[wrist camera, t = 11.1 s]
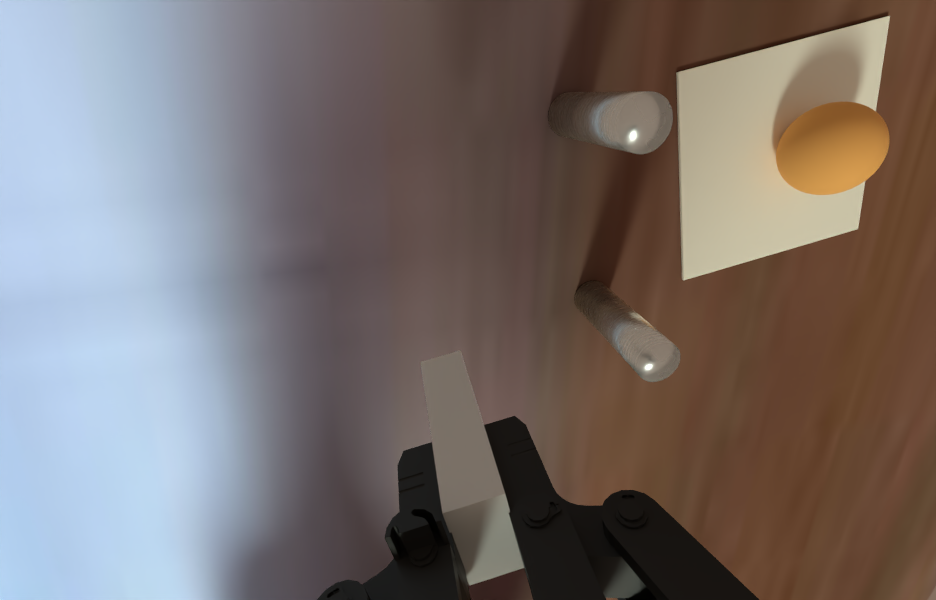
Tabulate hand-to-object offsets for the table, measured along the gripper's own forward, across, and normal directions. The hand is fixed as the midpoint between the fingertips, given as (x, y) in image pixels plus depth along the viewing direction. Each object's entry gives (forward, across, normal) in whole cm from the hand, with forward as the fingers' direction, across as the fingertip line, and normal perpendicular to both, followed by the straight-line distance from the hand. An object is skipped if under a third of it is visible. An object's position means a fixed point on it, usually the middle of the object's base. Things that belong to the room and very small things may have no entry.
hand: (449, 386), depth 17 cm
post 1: (+14, +11, +6) cm, 19 cm away
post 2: (+14, +11, -6) cm, 19 cm away
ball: (+12, +26, +1) cm, 29 cm away
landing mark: (+14, +25, 0) cm, 29 cm away
